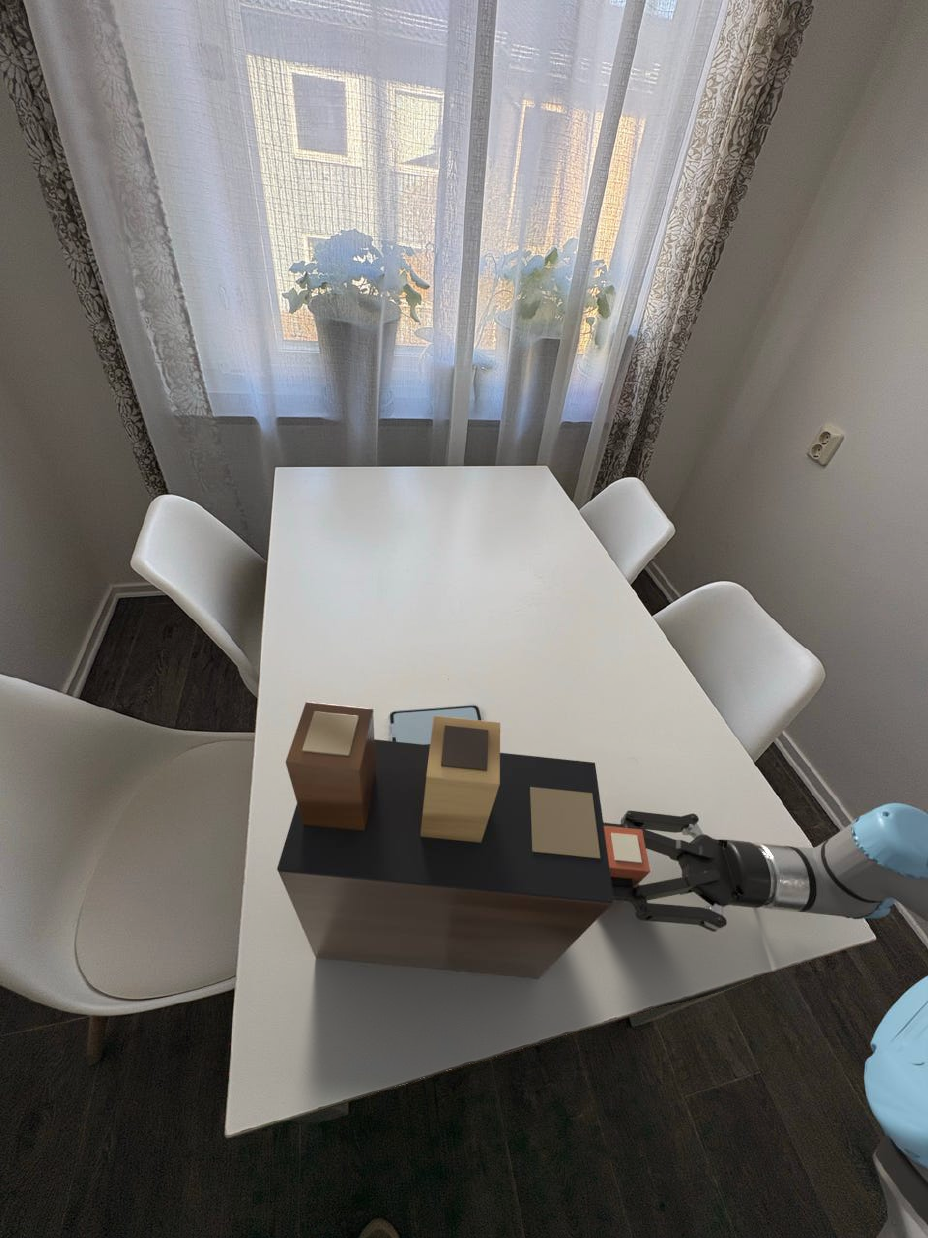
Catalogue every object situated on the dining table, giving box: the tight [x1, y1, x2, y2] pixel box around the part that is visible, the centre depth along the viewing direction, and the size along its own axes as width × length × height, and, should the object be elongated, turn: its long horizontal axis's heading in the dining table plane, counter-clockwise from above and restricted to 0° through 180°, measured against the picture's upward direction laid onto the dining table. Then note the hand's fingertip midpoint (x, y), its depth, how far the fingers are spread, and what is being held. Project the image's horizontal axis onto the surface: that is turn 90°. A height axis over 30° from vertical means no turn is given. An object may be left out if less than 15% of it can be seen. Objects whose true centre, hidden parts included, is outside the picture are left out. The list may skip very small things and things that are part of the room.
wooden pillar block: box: [420, 716, 501, 843], centre depth 40 cm, size 5×5×10 cm
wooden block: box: [285, 701, 376, 831], centre depth 39 cm, size 5×5×10 cm
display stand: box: [277, 870, 613, 980], centre depth 53 cm, size 12×26×28 cm, turn 87°
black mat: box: [276, 738, 615, 905], centre depth 43 cm, size 12×26×1 cm, turn 87°
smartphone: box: [388, 704, 484, 745], centre depth 81 cm, size 7×1×15 cm
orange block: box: [604, 826, 651, 887], centre depth 65 cm, size 5×5×10 cm
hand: (574, 856), depth 64 cm, fingers closed on orange block, 5 cm apart
